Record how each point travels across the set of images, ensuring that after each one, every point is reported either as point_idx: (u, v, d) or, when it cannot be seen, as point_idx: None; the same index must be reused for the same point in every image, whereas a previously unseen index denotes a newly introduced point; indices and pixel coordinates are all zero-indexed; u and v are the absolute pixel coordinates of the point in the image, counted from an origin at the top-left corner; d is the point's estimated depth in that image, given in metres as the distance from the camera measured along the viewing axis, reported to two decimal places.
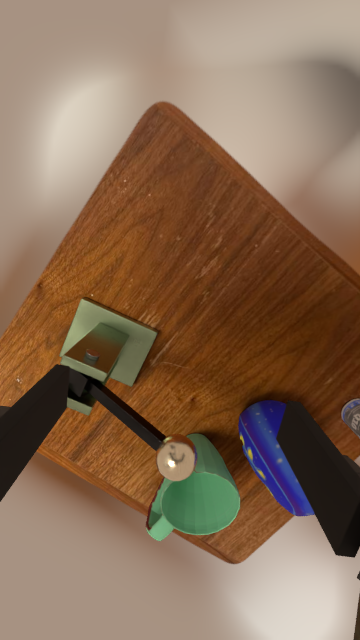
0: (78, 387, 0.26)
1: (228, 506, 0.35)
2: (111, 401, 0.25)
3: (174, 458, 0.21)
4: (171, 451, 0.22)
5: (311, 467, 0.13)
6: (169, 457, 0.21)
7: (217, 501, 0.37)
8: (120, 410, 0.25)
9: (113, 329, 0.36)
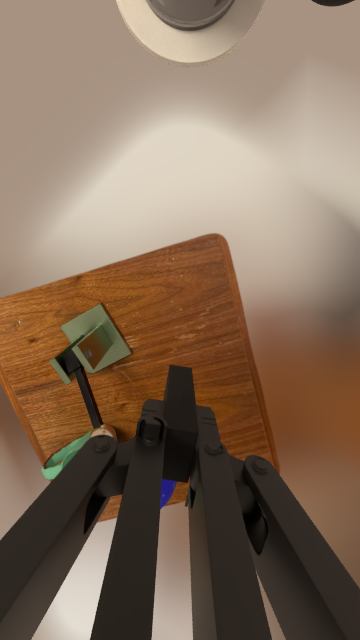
0: (71, 366, 0.40)
1: None
2: (85, 386, 0.39)
3: None
4: None
5: None
6: None
7: None
8: (87, 394, 0.39)
9: (106, 334, 0.50)
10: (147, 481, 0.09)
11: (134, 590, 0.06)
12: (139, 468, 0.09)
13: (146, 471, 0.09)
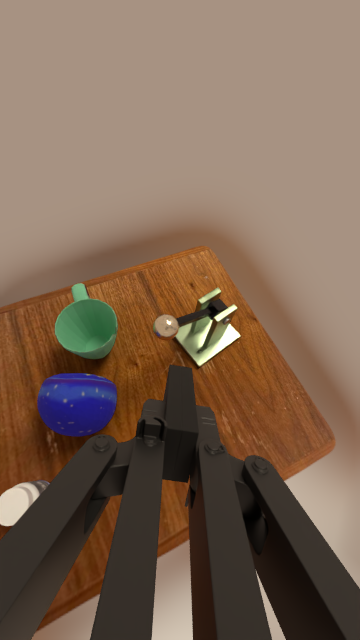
0: (215, 304, 0.44)
1: (62, 341, 0.43)
2: (203, 314, 0.42)
3: (174, 325, 0.35)
4: (176, 326, 0.36)
5: None
6: (175, 323, 0.36)
7: (65, 337, 0.45)
8: (197, 316, 0.41)
9: (214, 342, 0.53)
10: (147, 481, 0.09)
11: (134, 590, 0.06)
12: (139, 468, 0.09)
13: (146, 471, 0.09)
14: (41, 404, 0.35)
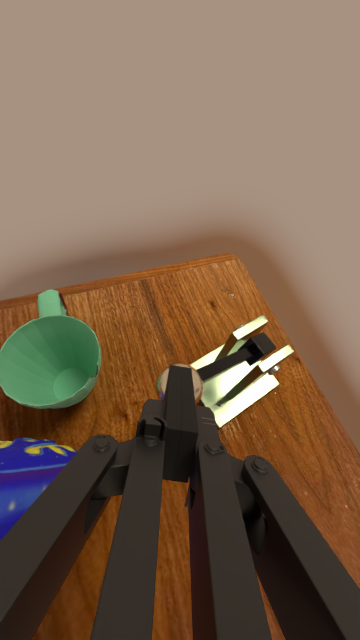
0: (258, 342, 0.28)
1: (8, 380, 0.27)
2: (240, 360, 0.25)
3: (195, 387, 0.19)
4: (200, 388, 0.19)
5: None
6: (197, 383, 0.19)
7: (17, 371, 0.29)
8: (232, 363, 0.24)
9: (243, 391, 0.36)
10: (147, 481, 0.09)
11: (134, 590, 0.06)
12: (139, 468, 0.09)
13: (146, 471, 0.09)
14: None
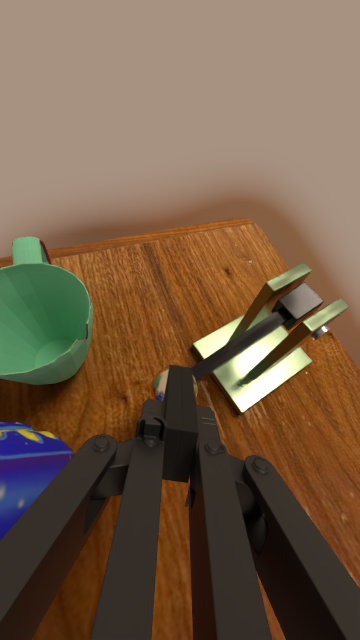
0: (290, 303, 0.21)
1: None
2: (258, 337, 0.21)
3: None
4: None
5: None
6: None
7: None
8: (245, 345, 0.21)
9: (269, 369, 0.29)
10: (147, 481, 0.09)
11: (134, 590, 0.06)
12: (139, 468, 0.09)
13: (146, 471, 0.09)
14: None
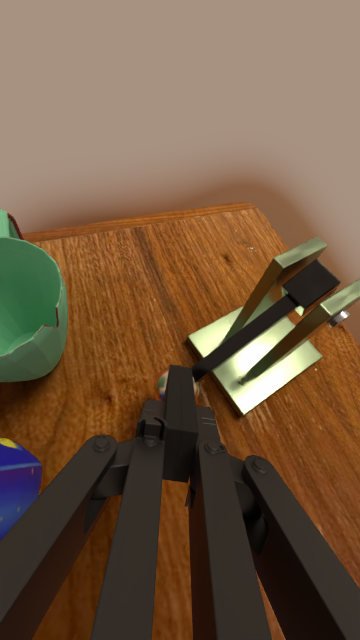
0: (297, 289, 0.18)
1: None
2: (261, 330, 0.19)
3: None
4: None
5: None
6: None
7: None
8: (245, 341, 0.19)
9: (274, 364, 0.26)
10: (147, 481, 0.09)
11: (134, 590, 0.06)
12: (139, 468, 0.09)
13: (146, 471, 0.09)
14: None
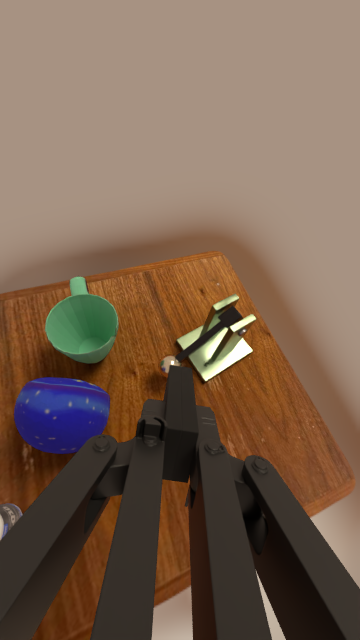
0: (223, 318, 0.39)
1: (52, 339, 0.38)
2: (208, 337, 0.40)
3: (168, 371, 0.40)
4: None
5: None
6: None
7: (56, 335, 0.40)
8: (202, 342, 0.40)
9: (224, 355, 0.47)
10: (147, 481, 0.09)
11: (134, 590, 0.06)
12: (139, 468, 0.09)
13: (146, 471, 0.09)
14: (18, 413, 0.29)
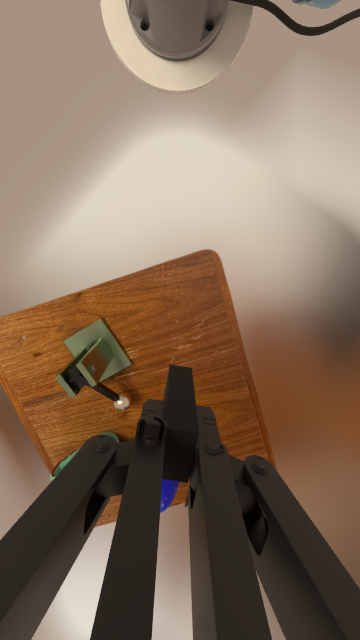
0: (82, 384, 0.43)
1: None
2: (99, 387, 0.46)
3: (127, 406, 0.51)
4: (126, 404, 0.51)
5: None
6: (125, 406, 0.51)
7: None
8: (103, 390, 0.47)
9: (107, 347, 0.52)
10: (147, 481, 0.09)
11: (134, 590, 0.06)
12: (139, 468, 0.09)
13: (146, 471, 0.09)
14: None
